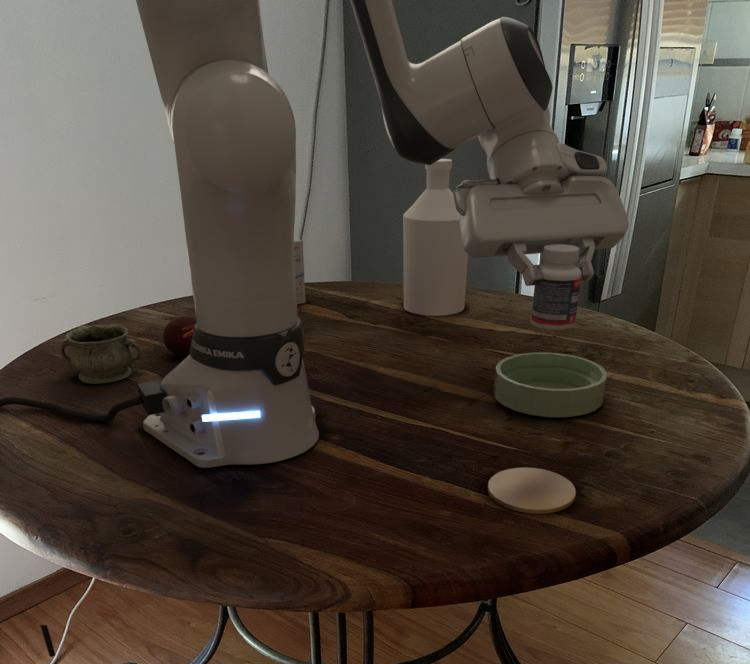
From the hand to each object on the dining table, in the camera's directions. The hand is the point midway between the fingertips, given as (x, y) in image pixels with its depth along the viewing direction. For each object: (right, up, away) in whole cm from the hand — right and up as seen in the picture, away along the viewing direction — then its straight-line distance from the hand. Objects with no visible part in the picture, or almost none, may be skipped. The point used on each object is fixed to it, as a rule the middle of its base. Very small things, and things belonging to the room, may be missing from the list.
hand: (560, 280), depth 84 cm
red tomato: (-50, -3, +30) cm, 58 cm away
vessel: (-61, -7, +23) cm, 66 cm away
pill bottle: (0, -4, +3) cm, 5 cm away
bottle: (-10, +11, +53) cm, 55 cm away
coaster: (-5, -24, -8) cm, 26 cm away
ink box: (-39, +12, +56) cm, 69 cm away
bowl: (+2, -12, +14) cm, 18 cm away
